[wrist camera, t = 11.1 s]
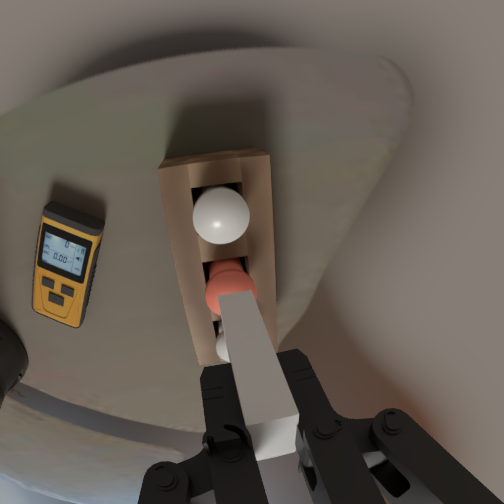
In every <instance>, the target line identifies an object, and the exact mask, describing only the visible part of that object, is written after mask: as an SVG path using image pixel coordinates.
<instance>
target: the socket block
mask: <svg viewBox="0 0 504 504" xmlns="http://www.w3.org/2000/svg"><path fill="white" fill-rule="evenodd" d="M158 176H159V183H160V189H161V195H162V201H163V207H164V212H165V218H166V223H167V229H168V234H169V239H170V244H171V249H172V254H173V259H174V264H175V268H176V273H177V278H178V282H179V286H180V291H181V295H182V299H183V304H184V308H185V312H186V316H187V320H188V324H189V328H190V332H191V335H192V339H193V343H194V347H195V350H196V354H197V358H198V361H199V365H202V364H210V363H217V362H223V361H225V360H223V359H221V358H220V357H219V356H218V354H217V351H216V338H217V336H218V335H219V328H218V320H222V319H221V315H218V314H216V313H214V312H213V311H212V310H211V309H210V308H209V307H208V305H207V302H206V296H205V288H206V284H207V282H208V281H209V279H210V276H209V272H205V266H204V262H208V261H215V260H222V259H228V258H235V257H242V268H243V271H244V272H246V273H247V274H248V275H249V276H250V277H251V278H252V280H253V282H254V284H255V287H256V291H257V297H256V303H257V306H258V308H259V311H260V314H261V316H262V319H263V322H264V324H265V327H266V330H267V332H268V335H269V337H270V340H271V343H272V345H273V348H274V350H275V352H278V350H277V311H276V280H275V253H274V229H273V207H272V187H271V169H270V155H269V154H267V153H265V152H263V151H262V150H260V149H258V148H248V149H237V150H228V151H219V152H211V153H203V154H196V155H188V156H182V157H175V158H169V159H164V160H163V161H162V163H161V164H160V166H159V167H158ZM234 182H235V191H236V192H237V193H239V194H240V195H241V196H242V197H243V199H244V200H245V202H246V204H247V206H248V209H249V213H250V219H249V224H248V226H247V229H246V230H245V232H244V233H243V234H242V235H241V236H240V237H239V238H238V239H236V240H234V241H232V242H230V243H226V244H214V243H211V242H208V241H206V240H205V239H203V238H202V237H201V236H200V235H199V234H198V233H197V231H196V229H195V227H194V224H193V208H194V205H195V199H194V192H193V188H195V187H202V186H210V185H217V184H225V183H234Z"/></svg>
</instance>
